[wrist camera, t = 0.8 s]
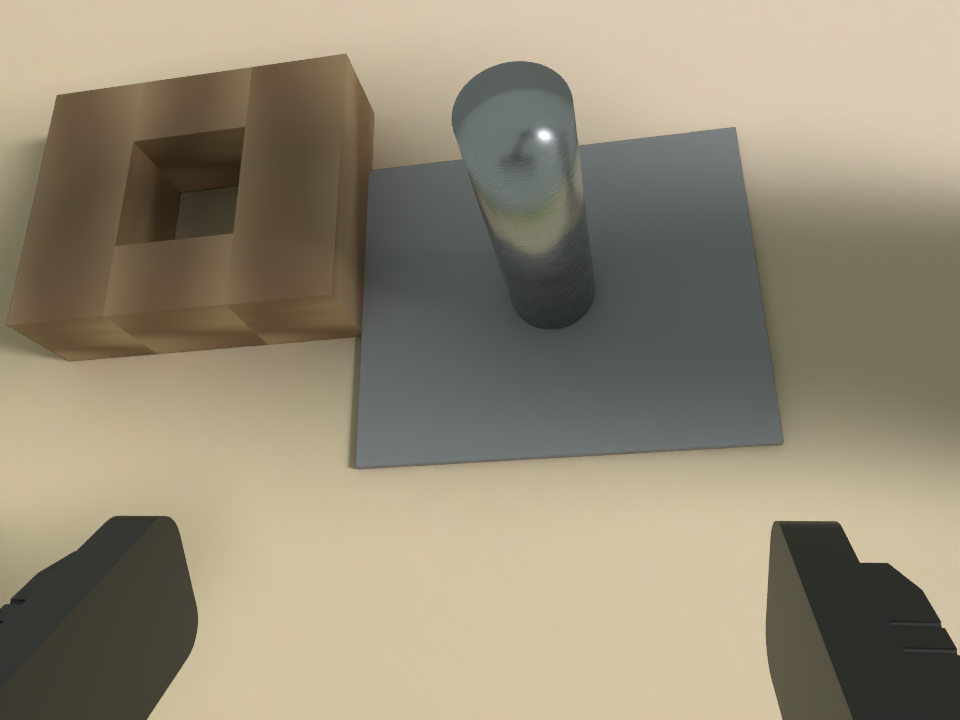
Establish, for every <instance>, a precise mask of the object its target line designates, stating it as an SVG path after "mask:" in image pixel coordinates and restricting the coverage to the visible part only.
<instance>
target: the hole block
mask: <svg viewBox="0 0 960 720" xmlns="http://www.w3.org/2000/svg"><path fill="white" fill-rule="evenodd" d="M373 129H374V112H373V110H372V108H371V105H370V103H369V101H368V99H367V97H366V95H365V93H364V90H363V88H362V86H361V84H360V82H359V80H358V78H357V75H356V73H355V71H354V69H353V67H352V65H351V63H350V60H349V58H348V56H347V54H341V55H334V56H327V57H320V58H313V59H306V60H299V61H292V62H285V63H278V64H271V65H264V66H257V67H250V68H243V69H236V70H229V71H222V72H215V73H208V74H201V75H194V76H187V77H180V78H173V79H166V80H159V81H152V82H146V83H139V84H132V85H125V86H118V87H111V88H104V89H97V90H90V91H83V92H76V93H69V94H62V95H57V97H56V101H55V106H54V110H53V115H52V119H51V124H50V128H49V133H48V138H47V142H46V147H45V151H44V156H43V160H42V165H41V169H40V174H39V178H38V183H37V187H36V192H35V197H34V201H33V206H32V210H31V215H30V219H29V224H28V228H27V233H26V237H25V242H24V246H23V251H22V256H21V260H20V265H19V269H18V274H17V278H16V283H15V287H14V292H13V296H12V301H11V305H10V310H9V315H8V319H7V324H6V325H7V326H8V327H10V328H12V329H14V330H15V331H17V332H19V333H21V334H22V335H24V336H26V337H28V338H29V339H31V340H33V341H35V342H36V343H38V344H40V345H42V346H43V347H45V348H47V349H48V350H50V351H52V352H54V353H55V354H57V355H59V356H61V357H62V358H64V359H66V360H68V361H78V360H90V359H102V358H113V357H125V356H137V355H149V354H160V353H172V352H184V351H196V350H207V349H219V348H231V347H243V346H254V345H266V344H278V343H290V342H301V341H313V340H325V339H337V338H348V337H360V336H362V316H363V294H364V273H365V251H366V229H367V207H368V185H369V171H370V170H372V151H373ZM238 185H239V186H238ZM230 186H238V195H237V203H236V212H235V221H234V230H233V233H231V234H222V235H212V236H203V237H194V238H185V239H176V240H174V235H175V228H176V221H177V214H178V207H179V200H180V193H181V192H188V191H196V190H204V189H213V188H221V187H230Z"/></svg>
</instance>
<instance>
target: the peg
mask: <svg viewBox="0 0 960 720" xmlns="http://www.w3.org/2000/svg"><path fill="white" fill-rule="evenodd" d="M452 126H453V130H454V133H455V136H456V139H457V142H458V145H459V148H460V151H461V154H462V157H463V160H464V163H465V166H466V169H467V172H468V175H469V178H470V181H471V184H472V187H473V189H474V192H475V195H476V198H477V201H478V204H479V207H480V210H481V213H482V216H483V219H484V222H485V225H486V228H487V231H488V234H489V237H490V240H491V243H492V246H493V248H494V251H495V254H496V257H497V260H498V263H499V266H500V269H501V272H502V275H503V278H504V281H505V284H506V287H507V290H508V293H509V296H510V299H511V302H512V304H513V307H514V309H515V311H516V313H517V314H518V315H519V316H520V318H522V319H523V320H524V321H525V322H527V323H528V324H530V325H532V326H534V327H537V328H541V329H547V330H555V329H561V328H565V327H567V326H570V325H572V324H574V323H576V322H577V321H579V320H580V319H581V318H582V317H583V316H584V315H585V314H586V313H587V312H588V310H589V309H590V307H591V305H592V303H593V300H594V297H595V281H594V273H593V264H592V256H591V248H590V239H589V231H588V223H587V214H586V206H585V197H584V189H583V181H582V172H581V164H580V156H579V147H578V139H577V131H576V122H575V114H574V106H573V98H572V94H571V91H570V89H569V87H568V85H567V83H566V82H565V81H564V79H563V78H562V77H561V76H560V75H559V74H557V73H556V72H555V71H553V70H552V69H550V68H548V67H546V66H543V65H541V64H537V63H533V62H526V61H516V62H507V63H502V64H499V65H496V66H493V67H491V68H488V69H486V70H484V71H483V72H481V73H479V74H478V75H476V76H475V77H474V78H472V79H471V80H470V81H469V82H468V83H467V84H466V85H465V86H464V87H463V89H462V90H461V92H460V93H459V95H458V97H457V98H456V101H455V103H454V106H453V111H452Z"/></svg>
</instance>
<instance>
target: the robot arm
mask: <svg viewBox="0 0 960 720" xmlns="http://www.w3.org/2000/svg"><path fill="white" fill-rule="evenodd" d="M197 627H198V612H197V606H196V602H195V597H194V593H193V589H192V584H191V580H190V576H189V571H188V567H187V563H186V558H185V554H184V550H183V546H182V541H181V537H180V533H179V529H178V527H177V525H176V523H175V522H174V520H172V519H171V518H170V517H167V516H115V517H112V518H110V519H109V520H108V521H107V522H105V523H104V524H103V525H102V526H101V527H100V528H99V529H98V530H97V531H96V532H95V533H94V534H93V535H92V536H91V537H90V538H89V539H88V540H87V541H86V542H85V543H84V544H83V545H82V546H81V547H80V548H79V549H78V550H77V551H74V552H73V553H71V554H69V555H68V556H66V557H64V558H63V559H61V560H59V561H58V562H56V563H54V564H53V565H51V566H49V567H48V568H46V569H44V570H43V571H41V572H39V573H38V574H37V575H35V576H34V577H33V578H32V579H31V580H30V581H29V582H28V583H27V584H26V585H25V586H24V587H23V588H22V589H21V590H20V591H19V592H18V593H17V594H15V595H14V596H13V597H12V598H11V602H10V604H5V605H4V606H3V607H2V608H1V609H0V720H147V718H148V717H149V715H150V714H151V712H152V711H153V709H154V708H155V706H156V705H157V703H158V702H159V700H160V699H161V697H162V696H163V694H164V693H165V691H166V690H167V688H168V687H169V685H170V684H171V682H172V681H173V679H174V678H175V676H176V675H177V673H178V672H179V670H180V669H181V667H182V666H183V664H184V663H185V661H186V660H187V658H188V656H189V655H190V653H191V650H192V648H193V645H194V642H195V638H196V634H197ZM766 646H767V656H768V664H769V669H770V674H771V678H772V682H773V686H774V690H775V693H776V697H777V701H778V704H779V708H780V712H781V715H782V719H783V720H960V655H957V648H956V646H955V645H954V643H953V641H952V640H951V638H950V636H949V634H948V633H947V631H946V629H945V628H942V627H941V621H940V619H939V618H938V616H937V614H936V613H935V611H934V609H933V607H932V606H931V604H930V602H929V601H928V599H927V597H926V596H925V594H924V592H923V591H922V590H921V589H920V588H919V587H918V586H916V585H915V584H914V583H913V582H911V581H910V580H909V579H907V578H906V577H905V576H904V575H902V574H901V573H900V572H899V571H897V570H896V569H895V568H893V567H892V566H891V565H890V564H888V563H860V562H859V560H858V558H857V556H856V554H855V552H854V550H853V548H852V546H851V544H850V542H849V540H848V538H847V536H846V534H845V532H844V530H843V528H842V527H841V525H840V524H839V523H838V522H836V521H775V522H774V523H773V526H772V531H771V540H770V557H769V575H768V593H767V611H766Z"/></svg>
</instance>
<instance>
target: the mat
mask: <svg viewBox="0 0 960 720" xmlns="http://www.w3.org/2000/svg"><path fill="white" fill-rule="evenodd" d="M578 147H579V156H580V164H581V172H582V181H583V189H584V197H585V206H586V214H587V223H588V231H589V239H590V248H591V256H592V264H593V273H594V281H595V297H594V300H593V303H592V305H591V307H590V309H589V310H588V312H587V313H586V314H585V315H584V316H583V317H582V318H581V319H580V320H579V321H577V322H576V323H574V324H572V325H570V326H567V327H565V328H561V329H555V330H547V329H541V328H537V327H534V326H532V325H530V324H528V323H527V322H525V321H524V320H523V319H522V318H520V316H519V315H518V314H517V313H516V311H515V309H514V307H513V304H512V302H511V299H510V296H509V293H508V290H507V287H506V284H505V281H504V278H503V275H502V272H501V269H500V266H499V263H498V260H497V257H496V254H495V251H494V248H493V246H492V243H491V240H490V237H489V234H488V231H487V228H486V225H485V222H484V219H483V216H482V213H481V210H480V207H479V204H478V201H477V198H476V195H475V192H474V189H473V187H472V184H471V181H470V178H469V175H468V172H467V169H466V166H465V163H464V160H454V161H446V162H437V163H429V164H420V165H412V166H404V167H395V168H387V169H378V170H370V171H369V185H368V207H367V229H366V251H365V273H364V294H363V316H362V338H361V360H360V382H359V404H358V426H357V447H356V468H357V469H372V468H389V467H407V466H424V465H441V464H458V463H476V462H493V461H510V460H527V459H545V458H562V457H579V456H596V455H614V454H631V453H648V452H665V451H683V450H700V449H717V448H735V447H752V446H769V445H782V444H783V435H782V429H781V422H780V416H779V409H778V402H777V396H776V389H775V383H774V376H773V370H772V363H771V356H770V350H769V343H768V337H767V330H766V324H765V317H764V311H763V304H762V297H761V291H760V284H759V278H758V271H757V265H756V258H755V251H754V245H753V238H752V232H751V225H750V219H749V212H748V205H747V199H746V192H745V186H744V179H743V173H742V166H741V159H740V153H739V146H738V140H737V133H736V127H732V128H724V129H715V130H707V131H698V132H690V133H682V134H673V135H665V136H656V137H648V138H639V139H631V140H623V141H614V142H606V143H597V144H589V145H581V146H578Z"/></svg>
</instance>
